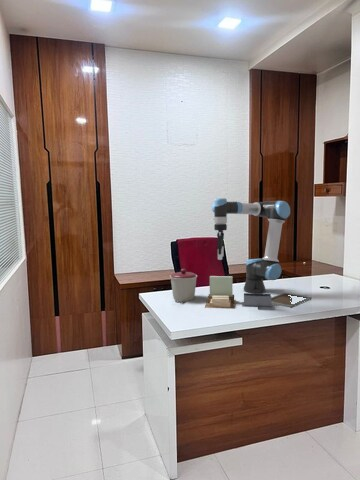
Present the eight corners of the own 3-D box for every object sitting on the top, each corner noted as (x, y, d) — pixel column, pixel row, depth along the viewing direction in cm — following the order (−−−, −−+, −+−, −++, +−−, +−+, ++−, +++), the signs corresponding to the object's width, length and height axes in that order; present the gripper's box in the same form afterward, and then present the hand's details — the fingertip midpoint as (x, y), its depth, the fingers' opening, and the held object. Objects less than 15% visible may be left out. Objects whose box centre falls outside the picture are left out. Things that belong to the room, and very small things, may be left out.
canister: (200, 297, 239) (199, 266, 236) (194, 305, 221) (193, 271, 219) (174, 296, 243) (174, 266, 241) (166, 303, 226) (165, 270, 224)
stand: (242, 304, 221) (242, 292, 220) (271, 305, 217) (272, 293, 217) (242, 308, 211) (242, 296, 210) (273, 310, 208) (273, 297, 207)
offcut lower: (211, 303, 219) (211, 299, 219) (230, 303, 217) (230, 299, 217) (209, 306, 211) (209, 302, 211) (230, 307, 209) (230, 303, 209)
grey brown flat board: (311, 297, 231) (288, 307, 210) (311, 299, 231) (288, 309, 210) (284, 292, 244) (260, 301, 223) (284, 294, 244) (260, 303, 223)
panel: (210, 300, 224) (209, 276, 223) (232, 301, 222) (232, 276, 220) (209, 302, 222) (209, 276, 220) (232, 302, 219) (232, 277, 218)
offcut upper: (212, 299, 218) (212, 295, 218) (228, 299, 217) (228, 295, 217) (212, 302, 211) (212, 298, 211) (229, 302, 210) (229, 298, 210)
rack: (207, 301, 229) (207, 292, 229) (235, 301, 226) (235, 293, 226) (204, 310, 210) (204, 301, 209) (235, 311, 207) (235, 302, 206)
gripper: (216, 222, 230) (216, 255, 232) (212, 224, 206) (212, 261, 208) (227, 222, 229) (227, 255, 231) (225, 224, 204) (225, 261, 206)
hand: (220, 258), depth 219 cm, fingers open, 13 cm apart
